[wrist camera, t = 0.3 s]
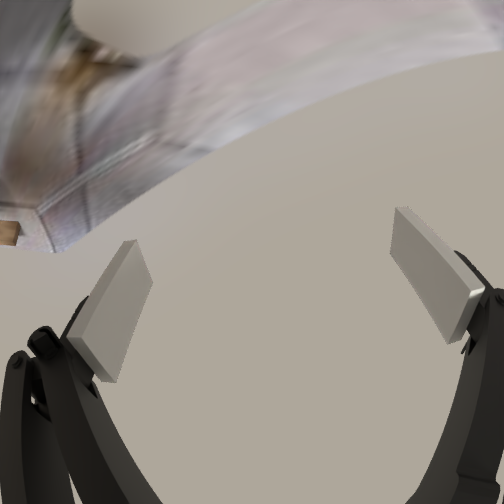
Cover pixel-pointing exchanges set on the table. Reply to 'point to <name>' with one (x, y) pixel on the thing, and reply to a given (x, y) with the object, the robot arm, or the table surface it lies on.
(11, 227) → the channel
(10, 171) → the table surface
